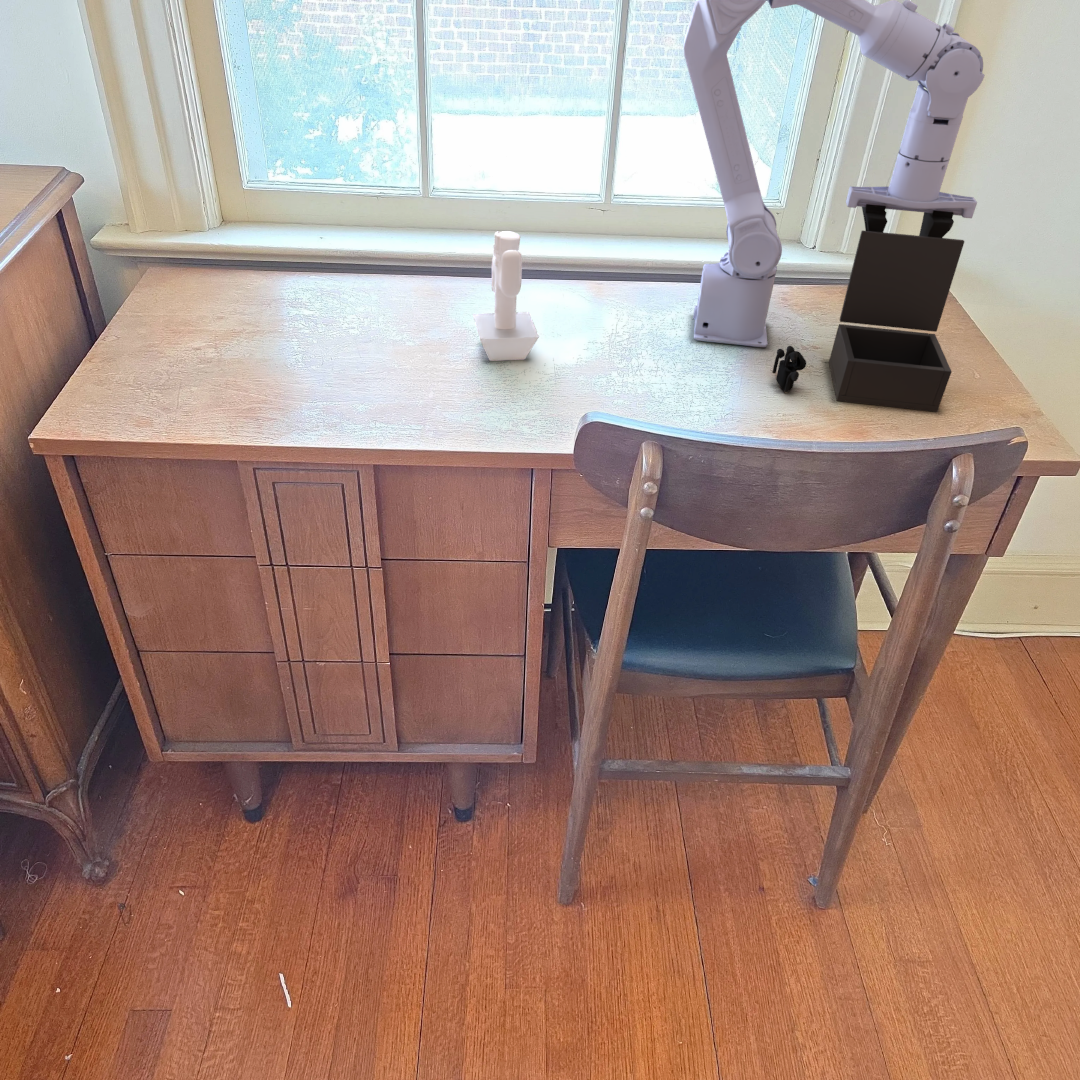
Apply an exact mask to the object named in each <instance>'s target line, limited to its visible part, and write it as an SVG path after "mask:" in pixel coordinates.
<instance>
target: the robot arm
mask: <svg viewBox="0 0 1080 1080" xmlns="http://www.w3.org/2000/svg"><path fill="white" fill-rule="evenodd" d="M766 2H767V3H768V5H769V6H770V8H771V9H778V8H779V9H780V8H783V7H789V6H794V5H795V6H796V5H797V6H799V7H802V8H804V9H805V10H807V11H809V12H811V13H813V14H815V15H816V16H818V17H821V18H823V19H825V20H827V21H828V22H831V23H833V24H834V25H837V26H839V27H840V28H843V29H844V30H846V31H848V32H850V33H852V34H854V35H856V36H857V37H858V41H859V42H858V43H859V50H860V53H861V56H864V57H866V58H867V59H869V60H871V61H873V62H875V63H877V64H878V65H880V66H882V67H884V68H886V69H887V70H889V71H891V72H893V73H895V75H898V76H899V77H902V78H903V79H905V80H907V81H908V82H917V83H918V85H917V88H916V90H915V91H916V92H915V95H914V98H913V102H912V106H911V108H910V109H909V113H908V116H907V120H906V123H905V124H906V125H905V127H904V131H903V135H902V138H901V142H900V146H899V149H898V153H897V155H896V156H897V157H896V160H895V164H894V167H893V171H892V174H891V177H890V181H889V185H888V186H852V185H850V186H849V188H848V190H847V191H848V192H847V196H846V199H845V204H846V207H847V208H853V209H855V208H857V207H859V208H860V207H861V210H862V215H863V221H864V231H873V232H884V231H885V228H886V227H887V224H888V218H887V214H888V213H887V211H886V210H892V211H893V210H894V211H905V212H915V213H923V216H922V220H921V225H920V230H919V234H918V236H927V237H937V238H944V237H945V236H946V235H947V234H948V233H949V232H950V231H951V229H952V228H953V226H954V223H955V221H954V219H953V216H959V217H962V218H963V219H972V218H973V216H974V214H975V210H976V209H977V205H978V201H977V200H976V199H975V197H974V196H965V195H960V194H955V193H947V192H943V191H941V188H942V185H943V183H944V179H945V176H946V172H947V169H948V167H949V163H950V160H951V156H952V153H953V151H954V147H955V143H956V140H957V137H958V135H959V131H960V127H961V125H962V122H963V118H964V112H965V109H966V106H967V103H968V100H969V97H971V96H972V95H973V94H974V93H975V92H976V91H977V90H978V89H979V88H980V86H981V85H982V83H983V81H984V78H985V74H984V73H983V71H984V58H983V56H982V53H981V51H980V49H979V48H978V47H976V46H975V45H974V44H972V43H971V42H969V41H968V40H967V39H965V38H963V37H962V36H960V34H959V33H958V32H955V27H954V26H952V25H951V24H949V23H947V22H946V23H943V25H940V24H938V23H936V22H934V21H933V20H931V19H929V18H928V17H926V16H925V15H923V14H921V13H919V12H918V11H916V10H917V9H918V4H917V3H915V2H913V1H912V0H903V2H900V1H899V0H887V1H885V2H883V3H880V4H873V3H871V2H870V1H868V0H694V3H693V6H692V7H693V8H692V11H691V14H690V18H689V21H688V25H687V28H686V32H685V35H684V39H683V45H682V47H683V57H684V60H685V63H686V67H687V71H688V75H689V78H690V82H691V86H692V90H693V94H694V97H695V101H696V104H697V109H698V113H699V116H700V119H701V123H702V128H703V131H704V135H705V138H706V143H707V146H708V150H709V153H710V156H711V161H712V164H713V167H714V172H715V176H716V179H717V183H718V187H719V191H720V195H721V197H722V202H723V206H724V210H725V214H726V220H727V224H726V229H725V230H726V231H725V232H726V238H727V242H728V249H727V251H726V252H725V253H724V254H723V256H721V257H720V261H719V262H715V263H704V264H703V268H702V272H701V278H700V284H699V290H698V296H697V302H696V304H695V305H694V309H693V315H692V316H693V318H692V319H693V320H694V329H693V339H694V340H695V341H699V342H701V341H702V342H708V343H709V342H710V343H720V344H726V345H727V344H729V345H737V346H738V345H739V346H747V347H755V348H756V347H757V348H767V347H768V334H767V333H768V332H767V325H766V324H767V323H766V322H767V317H768V314H769V313H768V312H769V308H770V303H771V300H772V299H771V298H772V294H773V289H774V284H775V279H776V276H777V271H778V264H779V263H780V260H781V257H782V255H783V253H782V252H783V246H782V241H781V239H780V237H779V234H778V230H777V220H776V218H775V215H774V213H773V212H772V211H771V210H770V209H769V208H768V207H767V206H766V204H765V202H764V200H763V196H762V192H761V189H760V184H759V180H758V177H757V173H756V168H755V164H754V159H753V157H752V153H751V148H750V144H749V140H748V135H747V132H746V128H745V123H744V121H743V120H744V119H743V116H742V111H741V107H740V104H739V99H738V94H737V91H736V87H735V83H734V79H733V75H732V70H731V67H730V62H729V58H728V52H729V50H730V49H731V47H732V45H733V43H734V41H735V39H736V38H737V37H738V35H739V33H740V31H741V28H742V26H743V25H745V23H747V22H748V21H749V20H750V19H751V18H752V17H753V16H754V15H755V14H756V13H757V12H758V11H759V10H760V9H761V8H762V7H763V6H764V4H766Z"/></svg>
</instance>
